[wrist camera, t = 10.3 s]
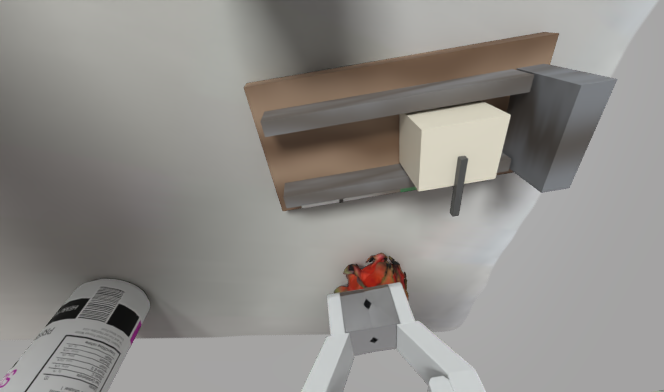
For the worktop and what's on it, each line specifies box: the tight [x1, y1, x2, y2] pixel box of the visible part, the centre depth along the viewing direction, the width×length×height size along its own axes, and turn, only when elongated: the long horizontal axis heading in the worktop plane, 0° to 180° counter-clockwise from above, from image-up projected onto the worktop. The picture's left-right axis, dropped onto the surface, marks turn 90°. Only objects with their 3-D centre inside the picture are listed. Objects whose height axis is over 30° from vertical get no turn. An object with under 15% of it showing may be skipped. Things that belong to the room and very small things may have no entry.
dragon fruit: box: [334, 253, 408, 300], centre depth 33 cm, size 8×8×12 cm
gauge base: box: [244, 32, 617, 211], centre depth 22 cm, size 12×24×8 cm, turn 98°
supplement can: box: [0, 279, 150, 392], centre depth 28 cm, size 8×8×15 cm
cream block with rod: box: [399, 100, 511, 216], centre depth 22 cm, size 8×6×6 cm
